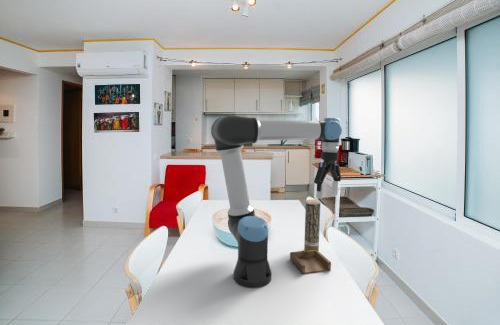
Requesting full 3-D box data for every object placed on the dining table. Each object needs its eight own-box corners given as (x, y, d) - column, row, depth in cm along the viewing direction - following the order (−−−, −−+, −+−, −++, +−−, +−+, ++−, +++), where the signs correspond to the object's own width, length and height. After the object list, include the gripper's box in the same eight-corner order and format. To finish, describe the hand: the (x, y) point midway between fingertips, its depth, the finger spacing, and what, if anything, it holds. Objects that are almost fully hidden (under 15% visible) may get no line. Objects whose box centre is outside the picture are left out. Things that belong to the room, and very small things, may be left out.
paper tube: (318, 255, 133) (320, 203, 130) (304, 254, 135) (305, 202, 132) (318, 249, 140) (320, 200, 137) (304, 248, 141) (305, 199, 138)
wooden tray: (302, 274, 116) (302, 265, 116) (289, 259, 128) (290, 252, 128) (330, 270, 119) (331, 262, 119) (315, 256, 132) (316, 249, 131)
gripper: (322, 152, 121) (319, 201, 123) (350, 151, 138) (347, 194, 140) (307, 151, 126) (305, 198, 128) (336, 150, 143) (333, 191, 146)
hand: (327, 196), depth 134 cm, fingers open, 13 cm apart
